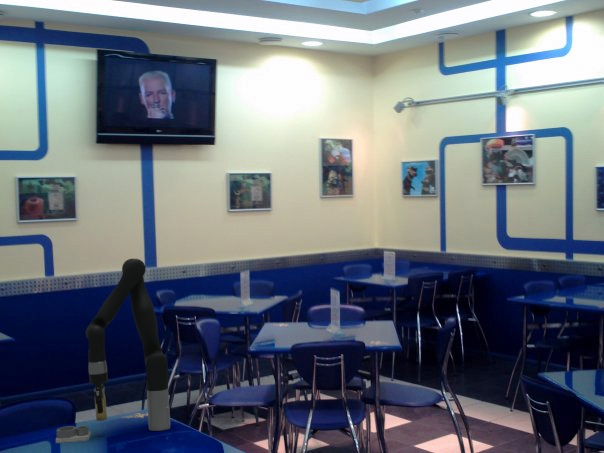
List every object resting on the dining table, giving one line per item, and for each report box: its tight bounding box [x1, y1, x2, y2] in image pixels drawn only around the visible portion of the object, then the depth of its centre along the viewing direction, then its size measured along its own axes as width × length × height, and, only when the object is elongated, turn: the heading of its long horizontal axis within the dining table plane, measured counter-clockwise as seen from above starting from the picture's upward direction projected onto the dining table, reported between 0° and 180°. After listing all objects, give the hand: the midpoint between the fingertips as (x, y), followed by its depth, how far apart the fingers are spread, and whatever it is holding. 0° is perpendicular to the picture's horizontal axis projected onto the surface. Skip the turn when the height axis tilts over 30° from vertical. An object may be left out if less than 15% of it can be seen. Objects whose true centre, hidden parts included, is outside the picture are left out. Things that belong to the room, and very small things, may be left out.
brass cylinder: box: [94, 395, 108, 422], centre depth 328 cm, size 4×4×10 cm
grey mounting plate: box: [55, 425, 92, 444], centre depth 326 cm, size 13×9×4 cm
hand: (101, 411), depth 328 cm, fingers closed on brass cylinder, 4 cm apart
